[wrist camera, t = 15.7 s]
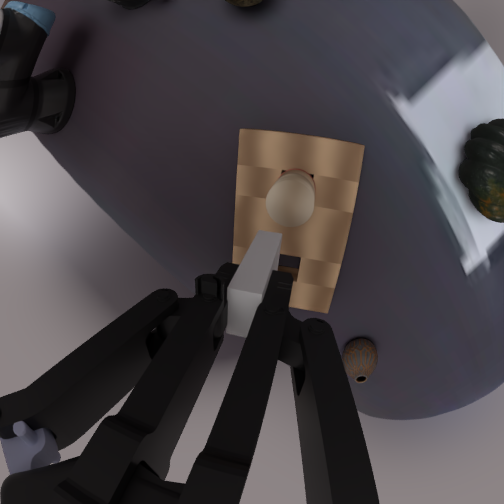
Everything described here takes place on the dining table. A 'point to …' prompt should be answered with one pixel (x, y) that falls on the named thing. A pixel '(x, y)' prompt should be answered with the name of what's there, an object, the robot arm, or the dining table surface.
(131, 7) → the milk frother
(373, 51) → the dining table surface
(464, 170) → the squash
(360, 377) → the vase
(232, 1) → the wire cup brush
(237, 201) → the oak board
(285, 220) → the beech peg
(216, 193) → the dining table surface
